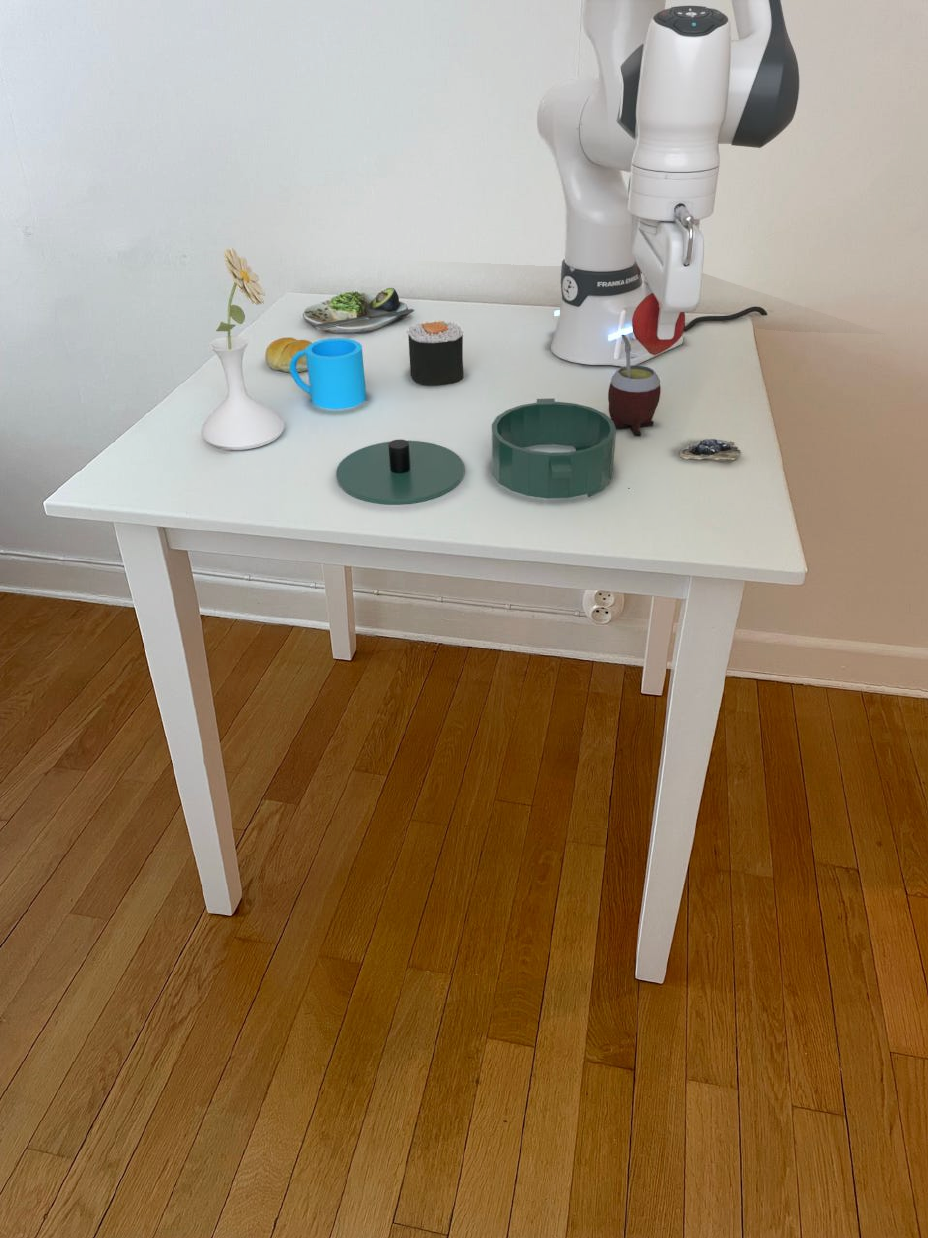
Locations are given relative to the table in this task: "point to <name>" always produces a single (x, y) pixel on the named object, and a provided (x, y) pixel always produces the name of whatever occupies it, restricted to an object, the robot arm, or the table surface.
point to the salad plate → (357, 312)
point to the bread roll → (286, 354)
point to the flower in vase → (239, 377)
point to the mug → (333, 373)
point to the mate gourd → (633, 395)
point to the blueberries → (711, 450)
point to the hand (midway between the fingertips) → (657, 325)
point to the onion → (653, 326)
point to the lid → (400, 472)
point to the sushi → (436, 353)
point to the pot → (553, 470)
